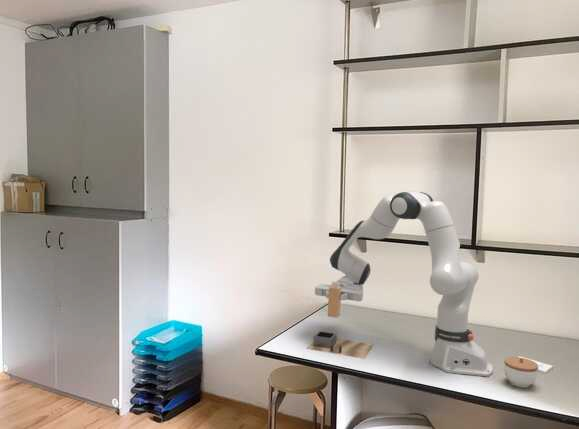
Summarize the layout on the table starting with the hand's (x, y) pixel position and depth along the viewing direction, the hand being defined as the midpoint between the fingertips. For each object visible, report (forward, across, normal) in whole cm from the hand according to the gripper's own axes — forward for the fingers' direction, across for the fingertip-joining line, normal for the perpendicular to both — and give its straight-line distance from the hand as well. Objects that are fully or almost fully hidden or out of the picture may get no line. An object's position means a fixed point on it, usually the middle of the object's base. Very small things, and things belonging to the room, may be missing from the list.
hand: (334, 297), depth 196 cm
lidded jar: (+3, +70, +21) cm, 73 cm away
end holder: (-1, -3, +21) cm, 21 cm away
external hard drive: (-17, +76, +22) cm, 81 cm away
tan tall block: (-1, 0, +8) cm, 8 cm away
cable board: (-2, +3, +22) cm, 22 cm away
